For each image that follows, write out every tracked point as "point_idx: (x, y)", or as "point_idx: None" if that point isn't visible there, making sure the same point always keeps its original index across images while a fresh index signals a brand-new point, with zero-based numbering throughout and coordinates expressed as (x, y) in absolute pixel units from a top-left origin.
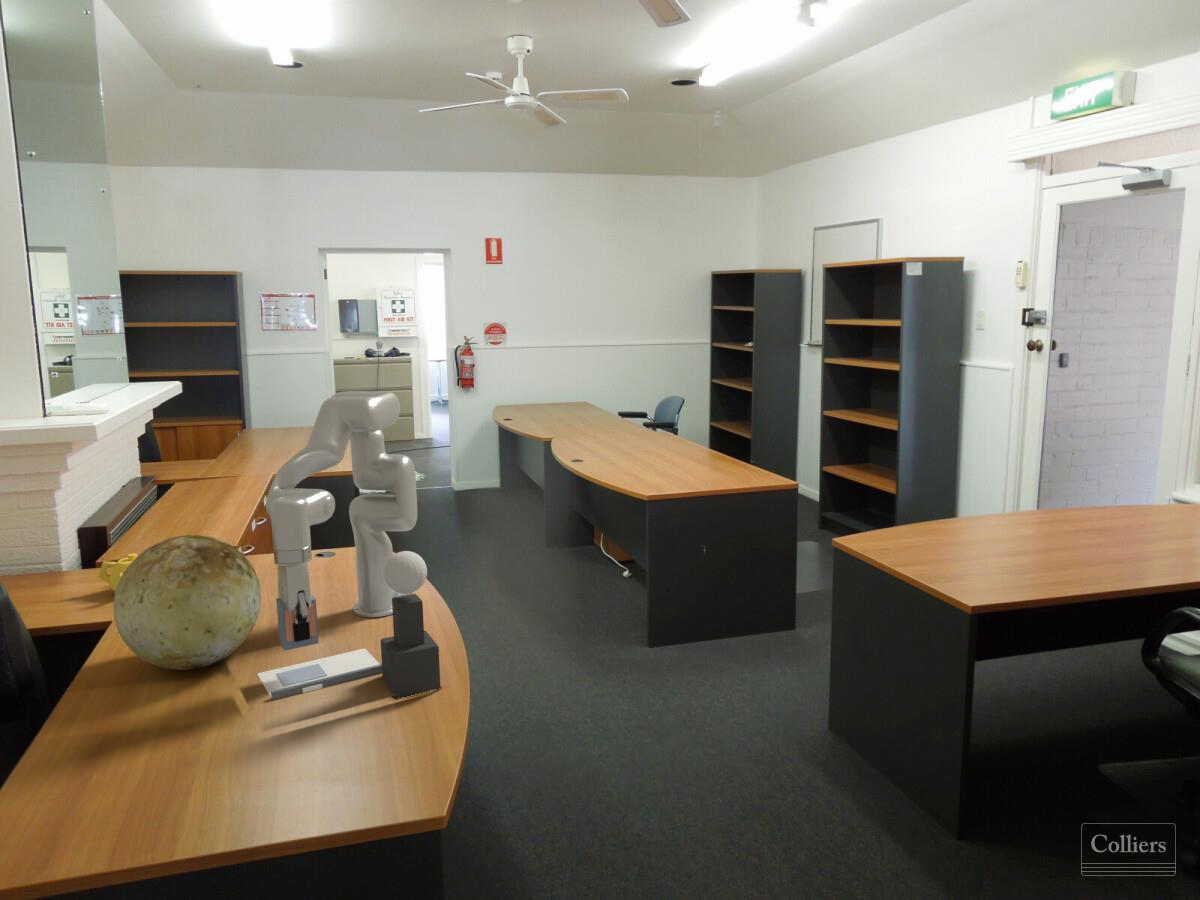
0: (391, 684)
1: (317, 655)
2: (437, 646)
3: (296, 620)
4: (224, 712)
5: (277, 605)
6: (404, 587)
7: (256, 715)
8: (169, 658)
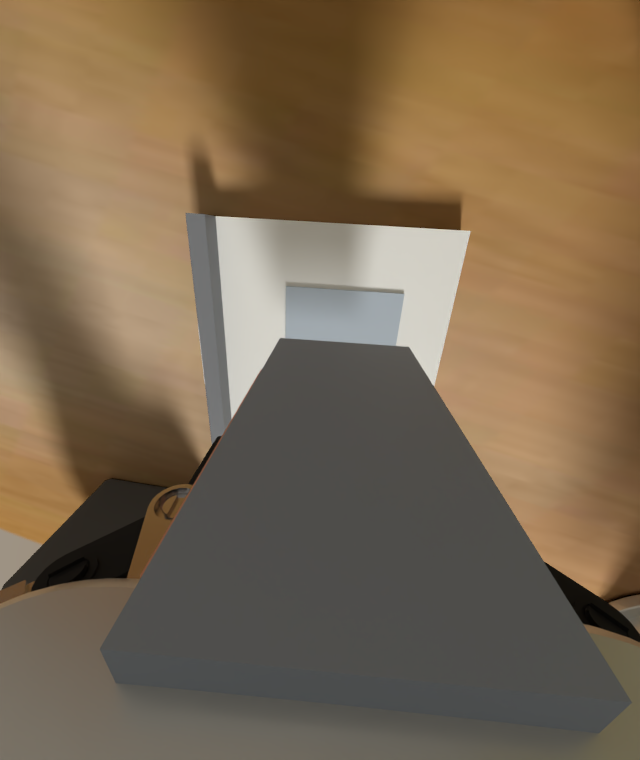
0: (98, 505)
1: (490, 442)
2: None
3: (148, 522)
4: (254, 15)
5: (487, 562)
6: None
7: (169, 142)
8: None
